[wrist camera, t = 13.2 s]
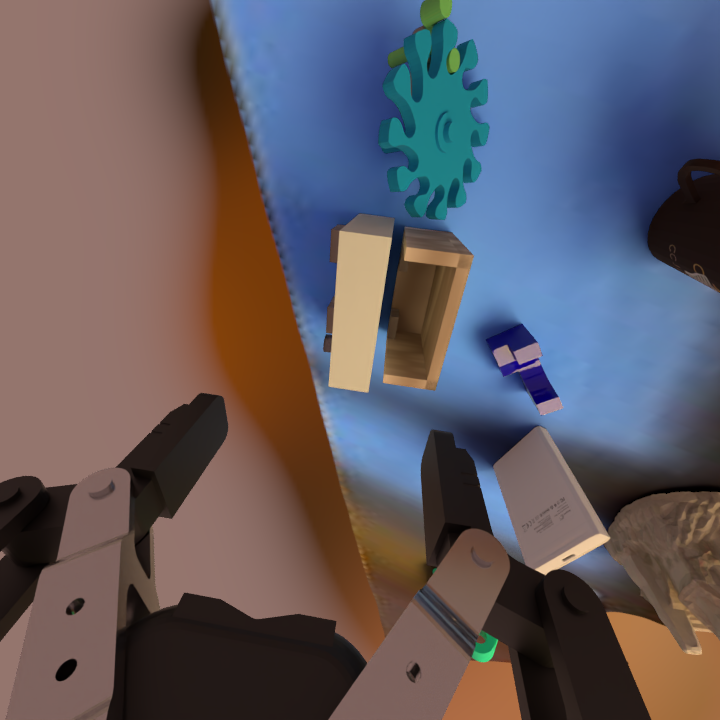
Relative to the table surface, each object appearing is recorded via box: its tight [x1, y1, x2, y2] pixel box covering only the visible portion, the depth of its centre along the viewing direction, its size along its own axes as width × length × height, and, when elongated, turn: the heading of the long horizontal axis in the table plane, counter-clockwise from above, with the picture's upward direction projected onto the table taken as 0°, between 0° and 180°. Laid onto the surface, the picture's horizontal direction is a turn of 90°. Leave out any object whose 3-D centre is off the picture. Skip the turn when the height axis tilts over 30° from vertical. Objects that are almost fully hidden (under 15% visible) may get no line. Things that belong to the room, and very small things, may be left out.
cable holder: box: [486, 324, 563, 415], centre depth 30 cm, size 8×4×4 cm, turn 32°
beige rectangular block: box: [323, 213, 395, 393], centre depth 24 cm, size 4×11×10 cm, turn 174°
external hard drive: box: [493, 426, 610, 575], centre depth 32 cm, size 2×8×12 cm, turn 155°
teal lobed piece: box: [378, 0, 490, 220], centre depth 21 cm, size 11×6×10 cm
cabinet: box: [326, 225, 474, 390], centre depth 25 cm, size 10×10×9 cm
